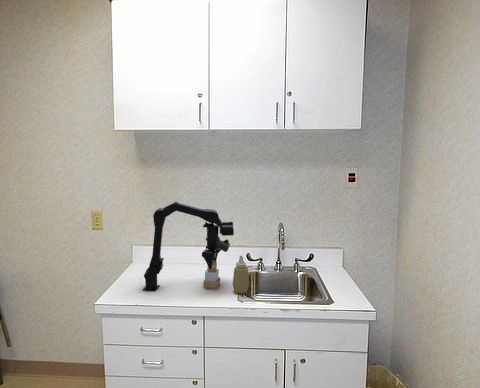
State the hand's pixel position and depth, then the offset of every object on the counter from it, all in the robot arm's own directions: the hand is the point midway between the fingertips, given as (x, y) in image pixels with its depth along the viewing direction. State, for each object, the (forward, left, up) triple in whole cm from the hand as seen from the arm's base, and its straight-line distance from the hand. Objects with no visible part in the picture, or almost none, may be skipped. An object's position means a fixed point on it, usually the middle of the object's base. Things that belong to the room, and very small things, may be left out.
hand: (212, 266), depth 181 cm
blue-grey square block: (0, 0, -7) cm, 7 cm away
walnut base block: (0, 0, -11) cm, 11 cm away
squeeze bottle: (-4, -15, -11) cm, 19 cm away
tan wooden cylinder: (0, 0, -2) cm, 2 cm away
